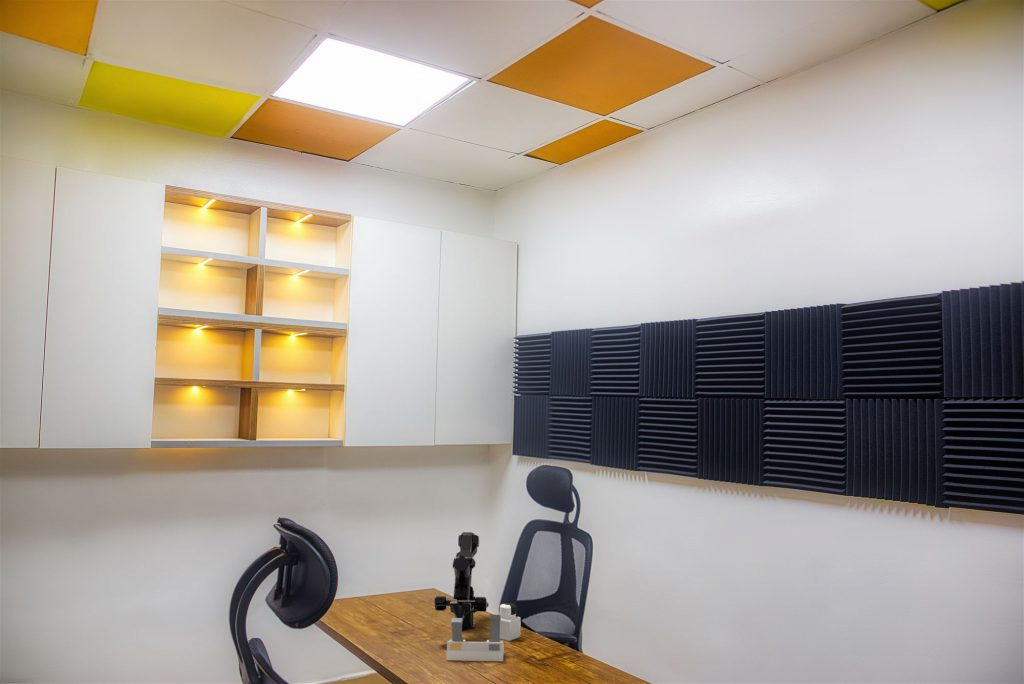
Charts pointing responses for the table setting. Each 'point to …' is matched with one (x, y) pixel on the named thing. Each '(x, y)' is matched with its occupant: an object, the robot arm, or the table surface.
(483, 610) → the robot arm
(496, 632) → the lever
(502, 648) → the switch box
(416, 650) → the table surface
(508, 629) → the medicine bottle
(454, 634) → the lever
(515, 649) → the table surface
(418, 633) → the table surface
